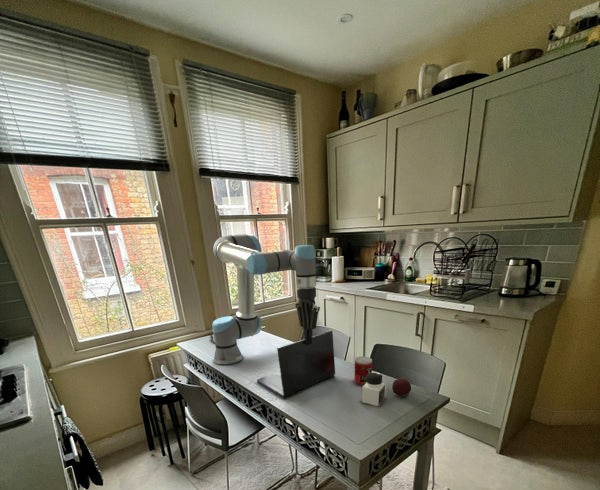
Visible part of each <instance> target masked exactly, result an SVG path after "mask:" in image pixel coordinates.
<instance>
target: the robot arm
mask: <svg viewBox="0 0 600 490" xmlns="http://www.w3.org/2000/svg"><path fill="white" fill-rule="evenodd" d="M262 250H263V249H262V245H261V243H260V240H259V239H258V237H257V236H256V235H255V234H248V233H244V234H231V235H223V236H220V237H219V238H217V239H216V240H215V241H214V244H213V247H212V251H213V255H214V256H215V258H216V259H217V260H218V261H219V262H222V263H225V264H229V263H231V264H233V265H234V266H235V267H236V279H237V281H236V282H237V304H238V305H237V307H238V308H237V309H238V310H237V311H236V312H235V317H233V316H231V315H227V316H223V317H222V316H221V317H219V318H217V319H215V320H213V322H212V324H211V327H212V333H213V335H212V333H210V334H209V336H210V341H211V342H212V343H213V344H214V345H215V351H214V356H213V361H214V363H215V364H216V365H222V366H227V365H233V364H237V363H238V362H240V361H242V360H243V354H242V352H241V350H240V348H239V346H238V342H237V340H240V339H245V338H250V337H253V336H256V335H258V334H259V333H260V332H261V329H262V325H263V323H262V319H261V316H260V315H259V314H258V312H256V311H255V276H256V275H257V276H261V275H265V274H272V273H279V272H286V271H295V273H296V275H295V276H296V288H297V289H296V295H297V296H296V298H297V299H298V302H296V303H294V306H295V309H296V312H297V316H298V323H299V326H300V328H302V329H303V335H304V339H305V345H310V344H312V337H313V336H314V335H313V330H315V329H317V325H318V317H319V312H320V310H321V307H320V306H317V304H316V299H315V298H317V288H316V287H317V275H316V274H317V273H316V271H317V270H316V258H317V257H316V249H315V246H314V245H312V244H299V245H296V246H295V247H294V250H293V249H291V250H290V249H282V250H280V251H270V252H262Z"/></svg>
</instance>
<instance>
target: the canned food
mask: <svg viewBox="0 0 600 490" xmlns="http://www.w3.org/2000/svg"><path fill="white" fill-rule="evenodd" d="M370 372H373V359H372V358H371V357H369V356H357V357H356V358H354V374H353V375H354V377H353V380H354V383H355V384H357V385H359V386H364V385H365V384H366V379H367V374H368V373H370Z"/></svg>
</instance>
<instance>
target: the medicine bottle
mask: <svg viewBox="0 0 600 490" xmlns="http://www.w3.org/2000/svg"><path fill="white" fill-rule="evenodd" d="M361 389H362V390H361V402H362V403H363V404H368V405H371V406H375V407H379V406H380V405H381V404H382V402H383V401H384V399H385V393H386V383H384V382H383V375H382V373H380V372H378V371H372V372H370V373H368V374H367V379H366V384H365V385H362V388H361Z"/></svg>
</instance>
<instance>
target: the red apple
mask: <svg viewBox="0 0 600 490" xmlns="http://www.w3.org/2000/svg"><path fill="white" fill-rule="evenodd" d="M391 390H392V393H393V394H394V395H395V396H397V397H405V396H407V395H409V394H410V393H411V391H412V385H411V382H410V381H409V380H407V379H406V378H398V379H395V380H394V381H393V382H392V385H391Z"/></svg>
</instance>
